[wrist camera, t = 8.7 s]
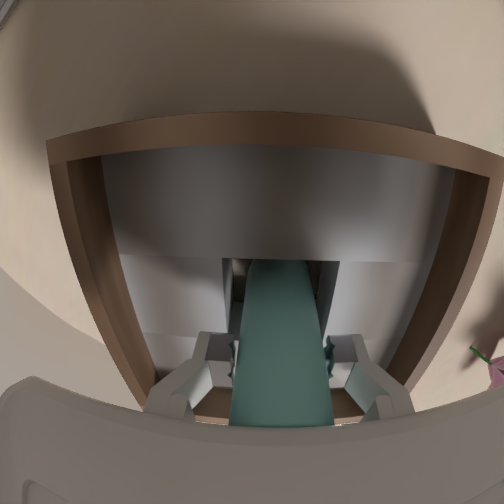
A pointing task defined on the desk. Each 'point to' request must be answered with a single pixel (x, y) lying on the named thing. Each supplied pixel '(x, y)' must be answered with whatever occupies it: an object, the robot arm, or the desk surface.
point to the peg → (280, 351)
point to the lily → (494, 369)
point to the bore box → (271, 233)
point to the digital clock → (6, 10)
